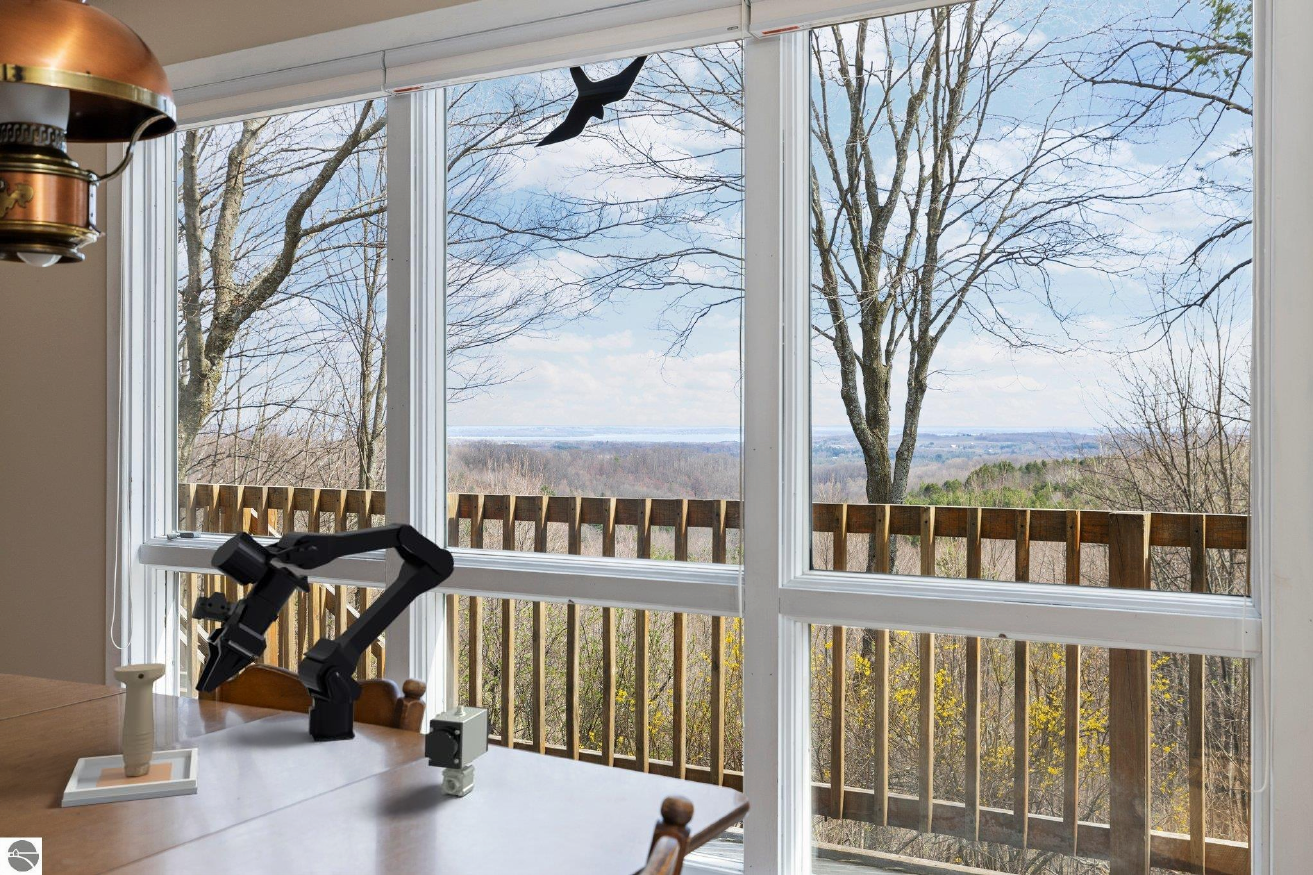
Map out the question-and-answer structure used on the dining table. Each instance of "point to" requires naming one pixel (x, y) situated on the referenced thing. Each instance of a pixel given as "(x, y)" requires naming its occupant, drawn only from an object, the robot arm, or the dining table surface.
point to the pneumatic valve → (457, 745)
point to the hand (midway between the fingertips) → (201, 691)
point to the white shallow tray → (132, 778)
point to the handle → (138, 715)
